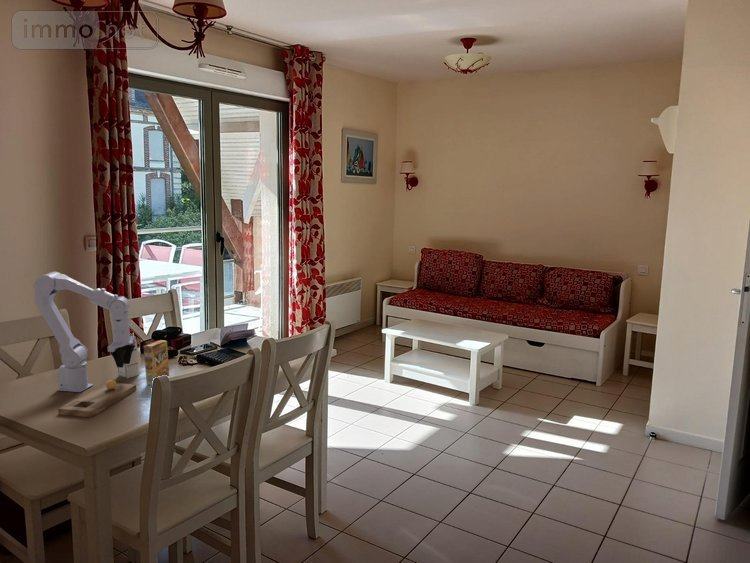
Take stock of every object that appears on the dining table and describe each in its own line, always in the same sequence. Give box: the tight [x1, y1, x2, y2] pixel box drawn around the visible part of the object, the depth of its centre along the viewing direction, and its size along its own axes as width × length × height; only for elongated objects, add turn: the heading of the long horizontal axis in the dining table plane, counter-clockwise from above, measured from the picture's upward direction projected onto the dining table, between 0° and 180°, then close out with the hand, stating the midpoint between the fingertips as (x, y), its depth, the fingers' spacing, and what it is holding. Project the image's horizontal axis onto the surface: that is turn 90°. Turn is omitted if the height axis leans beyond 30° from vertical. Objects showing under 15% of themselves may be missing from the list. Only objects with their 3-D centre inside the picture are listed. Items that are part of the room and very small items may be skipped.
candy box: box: [143, 339, 170, 386], centre depth 226 cm, size 9×4×15 cm, turn 162°
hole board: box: [57, 382, 137, 418], centre depth 206 cm, size 12×26×2 cm, turn 170°
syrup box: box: [117, 339, 140, 379], centre depth 232 cm, size 6×6×14 cm
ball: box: [105, 379, 117, 389], centre depth 212 cm, size 4×4×4 cm
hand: (123, 365), depth 219 cm, fingers open, 4 cm apart
